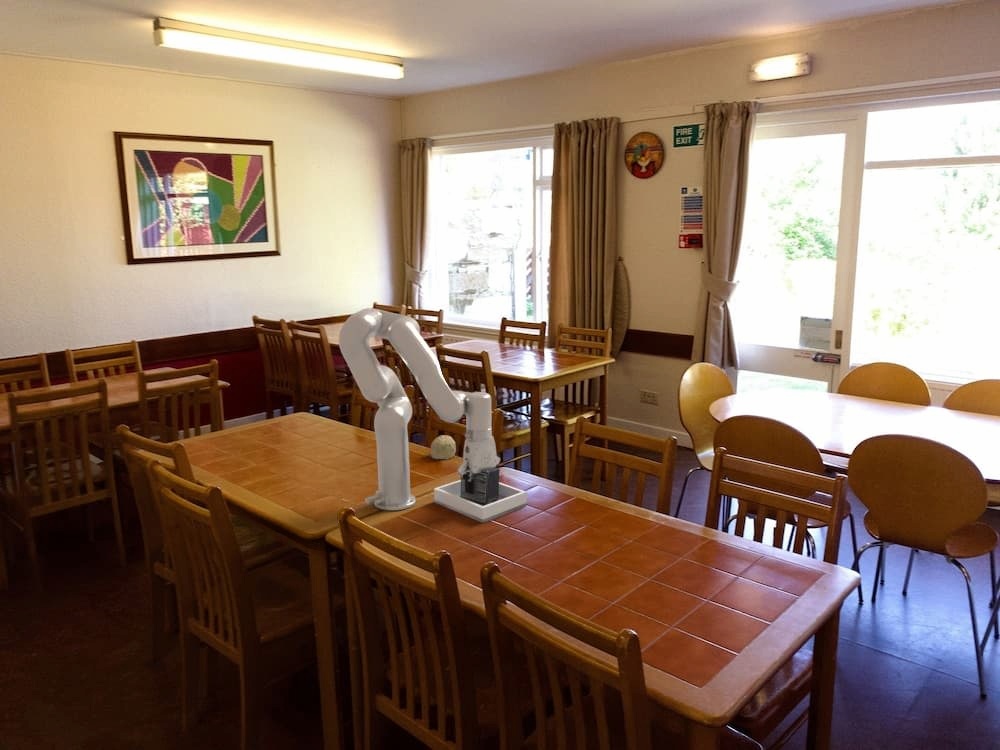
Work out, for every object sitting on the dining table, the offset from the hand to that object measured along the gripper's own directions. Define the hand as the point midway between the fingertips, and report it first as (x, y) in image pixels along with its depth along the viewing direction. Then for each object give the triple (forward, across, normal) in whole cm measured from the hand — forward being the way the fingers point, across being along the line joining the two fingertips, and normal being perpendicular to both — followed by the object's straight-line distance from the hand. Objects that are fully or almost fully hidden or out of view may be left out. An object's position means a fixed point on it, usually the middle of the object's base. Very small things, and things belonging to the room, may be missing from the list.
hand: (479, 489), depth 217 cm
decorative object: (+5, +22, +44) cm, 49 cm away
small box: (+4, 0, 0) cm, 4 cm away
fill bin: (+5, 0, 0) cm, 5 cm away
